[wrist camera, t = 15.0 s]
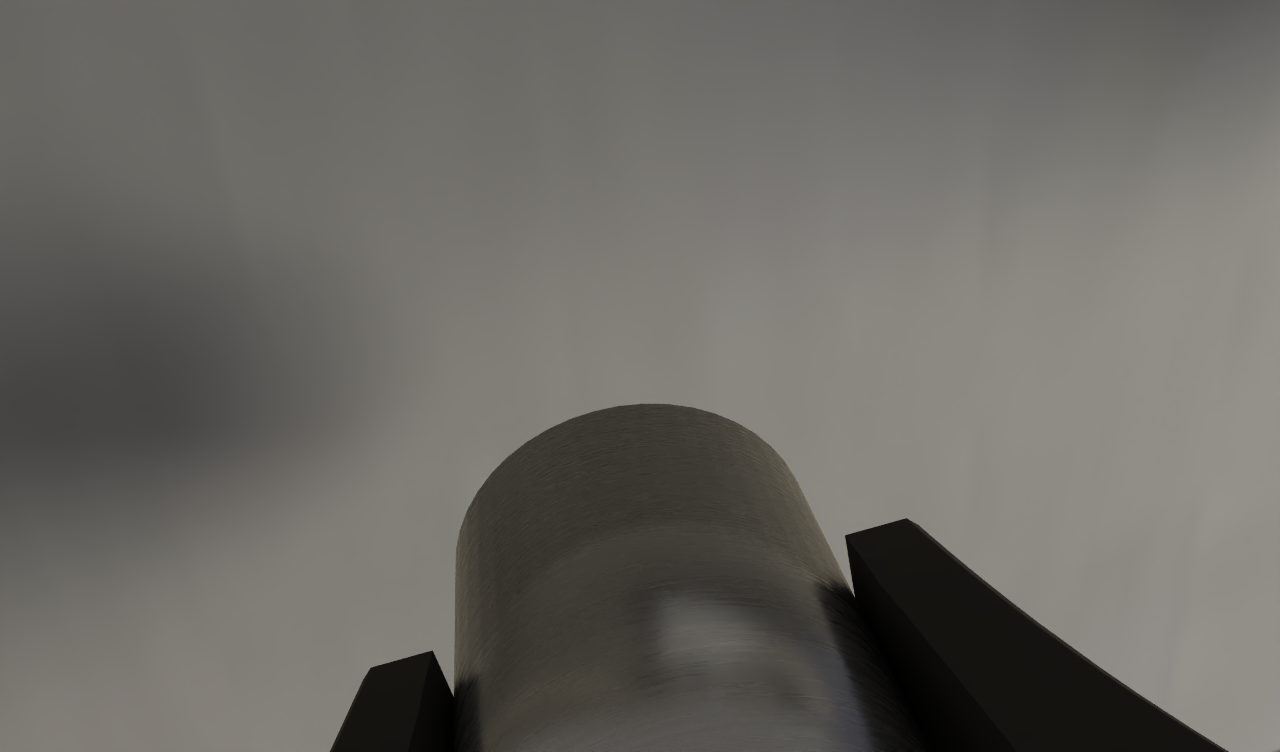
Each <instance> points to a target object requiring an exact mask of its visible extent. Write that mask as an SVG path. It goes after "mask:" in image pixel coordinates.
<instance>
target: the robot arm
mask: <svg viewBox="0 0 1280 752" xmlns="http://www.w3.org/2000/svg"><path fill="white" fill-rule="evenodd" d="M845 538H846V544H847V550H848V557H849V563H850V569H851V575H852V582H853V588H854V594H855V599H856V601H857V603H858V605H859V607H860V609H861V611H862V613H863V616H864V618H865V620H866V622H867V624H868V626H869V628H870V630H871V632H872V634H873V636H874V638H875V640H876V642H877V644H878V646H879V648H880V650H881V652H882V654H883V656H884V658H885V660H886V662H887V664H888V666H889V668H890V670H891V672H892V674H893V676H894V678H895V680H896V682H897V684H898V686H899V688H900V690H901V692H902V694H903V696H904V698H905V700H906V702H907V704H908V706H909V708H910V710H911V712H912V714H913V716H914V718H915V720H916V722H917V724H918V726H919V728H920V730H921V732H922V734H923V736H924V738H925V740H926V742H927V744H928V746H929V748H930V750H931V752H1228V751H1227V750H1225V749H1223V748H1222V747H1220V746H1219V745H1217V744H1215V743H1214V742H1212V741H1211V740H1209V739H1207V738H1206V737H1204V736H1203V735H1201V734H1199V733H1198V732H1196V731H1195V730H1193V729H1191V728H1190V727H1188V726H1187V725H1185V724H1184V723H1182V722H1181V721H1179V720H1178V719H1176V718H1175V717H1173V716H1171V715H1170V714H1168V713H1167V712H1165V711H1164V710H1162V709H1161V708H1159V707H1158V706H1156V705H1155V704H1153V703H1152V702H1150V701H1149V700H1147V699H1145V698H1144V697H1142V696H1141V695H1139V694H1138V693H1136V692H1135V691H1133V690H1132V689H1130V688H1129V687H1128V686H1126V685H1125V684H1123V683H1122V682H1120V681H1119V680H1117V679H1116V678H1114V677H1113V676H1112V675H1110V674H1109V673H1107V672H1106V671H1104V670H1103V669H1101V668H1100V667H1099V666H1097V665H1096V664H1094V663H1093V662H1092V661H1090V660H1089V659H1088V658H1086V657H1085V656H1083V655H1082V654H1081V653H1079V652H1078V651H1077V650H1075V649H1074V648H1072V647H1071V646H1070V645H1068V644H1067V643H1066V642H1064V641H1063V640H1061V639H1060V638H1059V637H1057V636H1056V635H1055V634H1053V633H1052V632H1050V631H1049V630H1048V629H1046V628H1045V627H1044V626H1042V625H1041V624H1039V623H1038V622H1037V621H1035V620H1034V619H1033V618H1032V617H1030V616H1029V615H1028V614H1026V613H1025V612H1024V611H1022V610H1021V609H1020V608H1018V607H1017V606H1016V605H1015V604H1013V603H1012V602H1011V601H1009V600H1008V599H1007V598H1006V597H1004V596H1003V595H1002V594H1001V593H999V592H998V591H997V590H996V589H994V588H993V587H992V586H991V585H989V584H988V583H987V582H986V581H984V580H983V579H982V578H981V577H979V576H978V575H977V574H976V573H974V572H973V571H972V570H971V569H970V568H968V567H967V566H966V565H965V564H963V563H962V562H961V561H960V560H959V559H957V558H956V557H955V556H954V555H953V554H951V553H950V552H949V551H948V550H947V549H946V548H944V547H943V546H942V545H941V544H940V543H939V542H937V541H936V540H935V539H934V538H933V537H932V536H930V535H929V534H928V533H927V532H926V531H925V530H923V529H922V528H921V527H920V526H919V525H917V524H916V523H914V522H912V521H910V520H909V519H907V518H906V519H902V520H899V521H895V522H891V523H888V524H884V525H881V526H877V527H874V528H870V529H866V530H863V531H859V532H856V533H852V534H848V535H845ZM453 740H454V697H453V694H452V692H451V690H450V688H449V686H448V683H447V681H446V679H445V677H444V675H443V672H442V670H441V668H440V666H439V664H438V661H437V659H436V657H435V655H434V652H433V651H429V652H425V653H422V654H418V655H415V656H411V657H408V658H404V659H400V660H397V661H393V662H390V663H386V664H382V665H379V666H375V667H372V668H370V670H369V671H368V673H367V675H366V676H365V678H364V679H363V681H362V684H361V686H360V688H359V690H358V692H357V694H356V696H355V699H354V701H353V703H352V705H351V707H350V709H349V712H348V714H347V716H346V718H345V720H344V722H343V725H342V727H341V729H340V731H339V733H338V735H337V738H336V740H335V742H334V744H333V746H332V748H331V750H330V752H453Z"/></svg>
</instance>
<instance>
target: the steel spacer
mask: <svg viewBox="0 0 1280 752" xmlns="http://www.w3.org/2000/svg"><path fill="white" fill-rule="evenodd" d="M453 752H931V750H930V748H929V746H928V744H927V742H926V740H925V738H924V736H923V734H922V732H921V730H920V728H919V726H918V724H917V722H916V720H915V718H914V716H913V714H912V712H911V710H910V708H909V706H908V704H907V702H906V700H905V698H904V696H903V694H902V692H901V690H900V688H899V686H898V684H897V682H896V680H895V678H894V676H893V674H892V672H891V670H890V668H889V666H888V664H887V662H886V660H885V658H884V656H883V654H882V652H881V650H880V648H879V646H878V644H877V642H876V640H875V638H874V636H873V634H872V632H871V630H870V628H869V626H868V624H867V622H866V620H865V618H864V616H863V613H862V611H861V609H860V607H859V605H858V603H857V601H856V599H855V597H854V595H853V593H852V591H851V589H850V587H849V585H848V583H847V581H846V579H845V577H844V575H843V573H842V571H841V569H840V567H839V565H838V563H837V561H836V559H835V557H834V555H833V553H832V551H831V549H830V547H829V545H828V543H827V541H826V539H825V537H824V535H823V533H822V531H821V529H820V527H819V525H818V523H817V521H816V519H815V517H814V515H813V513H812V511H811V509H810V507H809V505H808V503H807V501H806V499H805V497H804V495H803V493H802V491H801V489H800V487H799V485H798V483H797V481H796V479H795V477H794V475H793V474H792V472H791V471H790V469H789V467H788V466H787V464H786V463H785V461H784V460H783V459H782V458H781V457H780V456H779V455H778V454H777V453H776V451H775V450H774V449H773V448H772V447H771V446H770V445H769V444H767V443H766V442H765V441H764V440H762V439H761V438H760V437H759V436H757V435H756V434H755V433H753V432H752V431H750V430H748V429H746V428H745V427H743V426H741V425H740V424H738V423H736V422H734V421H731V420H729V419H727V418H724V417H722V416H719V415H717V414H714V413H710V412H707V411H703V410H699V409H696V408H691V407H684V406H677V405H670V404H637V405H626V406H617V407H613V408H608V409H603V410H598V411H594V412H591V413H588V414H585V415H582V416H578V417H575V418H572V419H570V420H567V421H565V422H563V423H561V424H559V425H556V426H554V427H552V428H550V429H548V430H546V431H544V432H543V433H541V434H539V435H538V436H536V437H534V438H533V439H531V440H530V441H528V442H526V443H525V444H524V445H522V446H521V447H520V448H519V449H517V450H516V451H515V452H514V453H512V454H511V455H510V456H508V457H507V458H506V459H505V460H504V461H503V462H502V463H501V464H500V465H499V466H498V467H497V468H496V469H495V470H494V471H493V472H492V473H491V475H490V476H489V477H488V479H487V480H486V481H485V483H484V484H483V485H482V487H481V488H480V489H479V491H478V492H477V494H476V496H475V497H474V499H473V501H472V503H471V505H470V506H469V508H468V510H467V513H466V515H465V518H464V521H463V523H462V526H461V529H460V533H459V538H458V543H457V548H456V577H455V659H454V740H453Z"/></svg>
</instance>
